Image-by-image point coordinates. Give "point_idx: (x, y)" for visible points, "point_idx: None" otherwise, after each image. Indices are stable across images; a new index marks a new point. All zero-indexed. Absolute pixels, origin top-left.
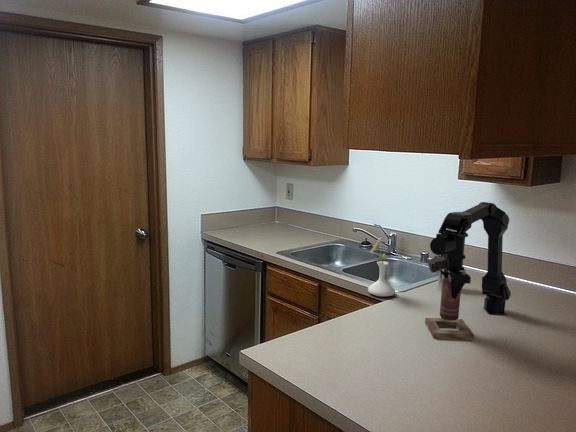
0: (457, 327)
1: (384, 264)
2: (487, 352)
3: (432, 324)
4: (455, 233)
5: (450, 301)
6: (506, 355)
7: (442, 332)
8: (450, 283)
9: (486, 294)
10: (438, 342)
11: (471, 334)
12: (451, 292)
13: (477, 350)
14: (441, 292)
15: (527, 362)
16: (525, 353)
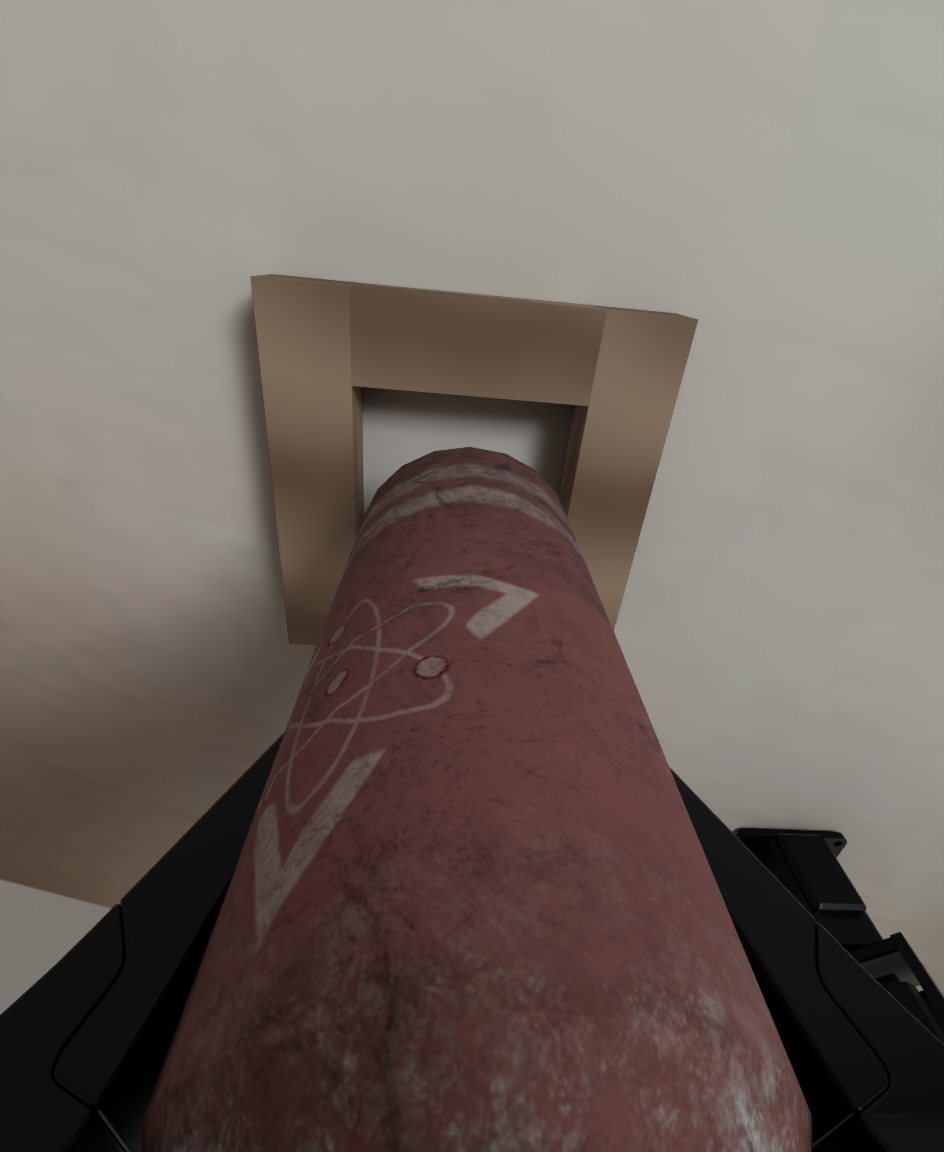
0: None
1: None
2: (109, 632)
3: (492, 342)
4: None
5: (310, 662)
6: (105, 716)
7: (277, 385)
8: (58, 1143)
9: (873, 948)
10: (182, 299)
11: (288, 626)
12: (233, 821)
13: (119, 581)
14: (529, 636)
15: (49, 776)
16: (174, 804)
